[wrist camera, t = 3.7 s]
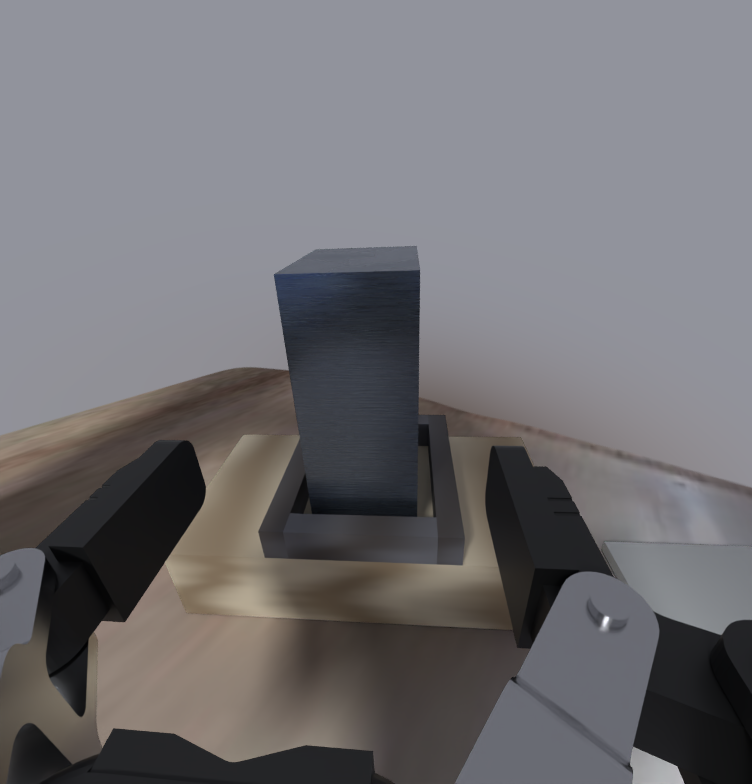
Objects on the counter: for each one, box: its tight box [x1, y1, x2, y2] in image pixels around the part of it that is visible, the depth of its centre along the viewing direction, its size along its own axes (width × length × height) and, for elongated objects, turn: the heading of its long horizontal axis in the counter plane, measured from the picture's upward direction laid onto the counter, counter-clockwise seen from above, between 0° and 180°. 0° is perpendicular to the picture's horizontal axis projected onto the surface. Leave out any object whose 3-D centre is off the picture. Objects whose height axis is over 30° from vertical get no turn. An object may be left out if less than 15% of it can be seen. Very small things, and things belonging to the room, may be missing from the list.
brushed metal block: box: [274, 246, 420, 517], centre depth 17 cm, size 4×6×11 cm
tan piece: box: [165, 415, 535, 630], centre depth 20 cm, size 17×9×6 cm, turn 86°
